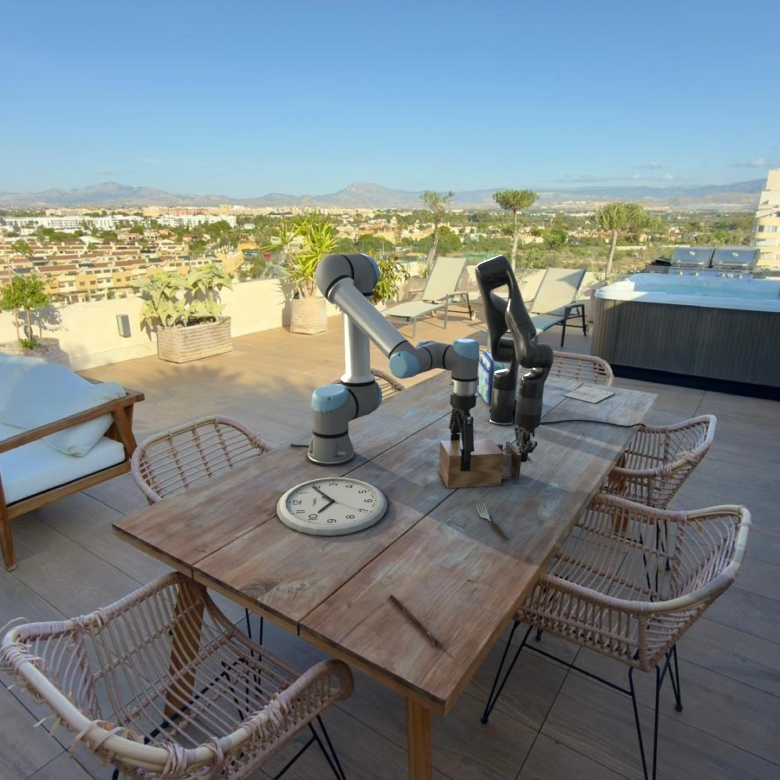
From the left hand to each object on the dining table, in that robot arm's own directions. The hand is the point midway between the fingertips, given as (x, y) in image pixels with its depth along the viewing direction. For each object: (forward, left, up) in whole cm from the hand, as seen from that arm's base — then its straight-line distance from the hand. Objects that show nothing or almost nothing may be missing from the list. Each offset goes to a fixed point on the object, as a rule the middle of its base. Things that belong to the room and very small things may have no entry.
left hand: (459, 461), depth 158 cm
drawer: (+11, +6, -5) cm, 13 cm away
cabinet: (+3, +1, -6) cm, 7 cm away
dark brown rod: (+3, -63, -6) cm, 63 cm away
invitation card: (+40, +105, -6) cm, 113 cm away
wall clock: (-29, -28, -6) cm, 41 cm away
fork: (+13, -23, -6) cm, 27 cm away
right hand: (+18, +9, -1) cm, 20 cm away
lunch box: (-1, +81, -6) cm, 82 cm away
